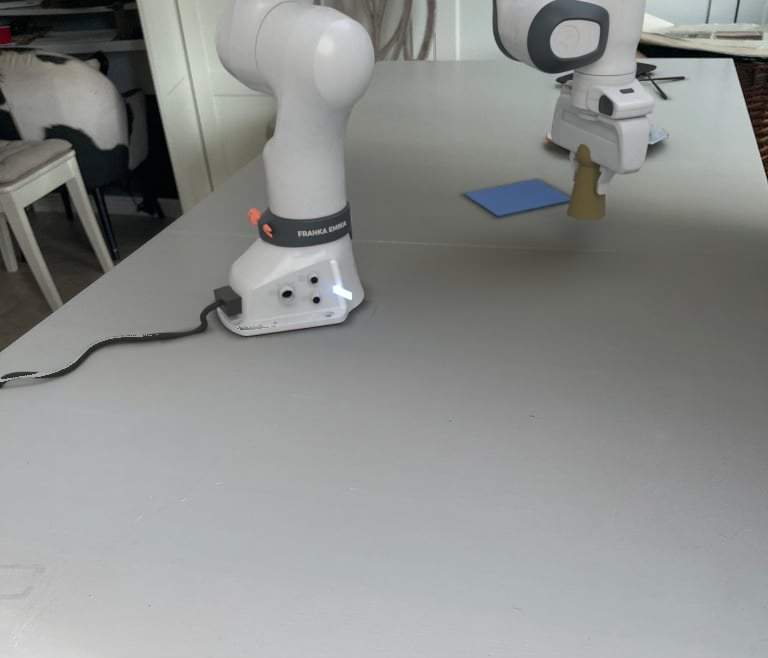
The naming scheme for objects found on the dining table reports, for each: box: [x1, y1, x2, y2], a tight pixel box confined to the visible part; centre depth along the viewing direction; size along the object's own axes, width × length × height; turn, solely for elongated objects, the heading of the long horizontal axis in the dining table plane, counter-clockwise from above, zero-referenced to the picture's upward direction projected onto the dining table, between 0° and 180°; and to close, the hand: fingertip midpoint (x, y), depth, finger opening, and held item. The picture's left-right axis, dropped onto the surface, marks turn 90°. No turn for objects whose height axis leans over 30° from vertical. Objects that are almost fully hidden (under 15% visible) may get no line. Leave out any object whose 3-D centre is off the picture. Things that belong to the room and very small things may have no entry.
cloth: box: [464, 178, 571, 218], centre depth 152 cm, size 16×13×1 cm
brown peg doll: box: [566, 144, 606, 221], centre depth 127 cm, size 6×6×11 cm
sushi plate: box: [555, 61, 686, 100], centre depth 210 cm, size 29×30×4 cm
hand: (589, 187), depth 128 cm, fingers closed on brown peg doll, 4 cm apart
